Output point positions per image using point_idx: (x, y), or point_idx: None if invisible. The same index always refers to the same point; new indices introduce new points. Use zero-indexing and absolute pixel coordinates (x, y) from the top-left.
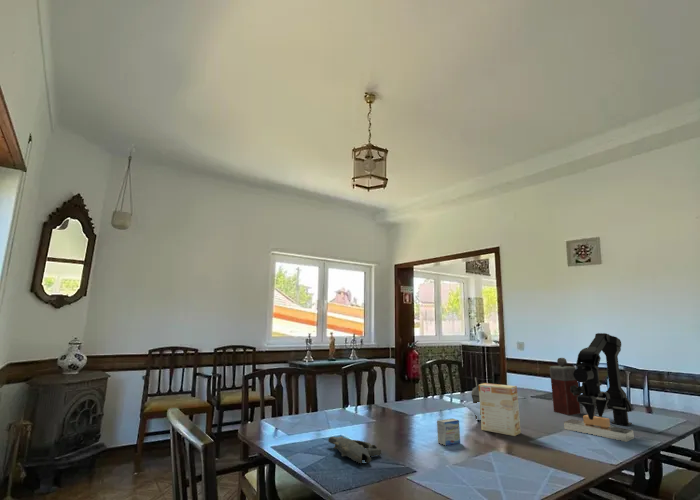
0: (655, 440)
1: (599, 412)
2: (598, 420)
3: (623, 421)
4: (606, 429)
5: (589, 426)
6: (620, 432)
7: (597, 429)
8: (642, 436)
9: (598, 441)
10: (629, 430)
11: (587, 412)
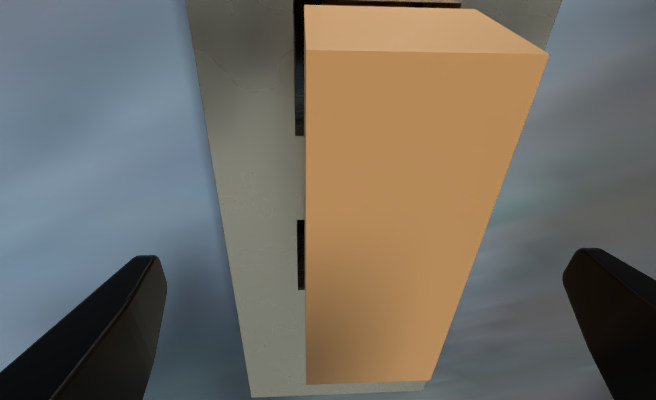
0: (443, 390)
1: (617, 321)
2: (305, 293)
3: None
4: (263, 293)
5: (228, 129)
6: (257, 374)
7: (224, 218)
8: (506, 342)
9: (38, 240)
10: (397, 382)
11: (6, 386)
